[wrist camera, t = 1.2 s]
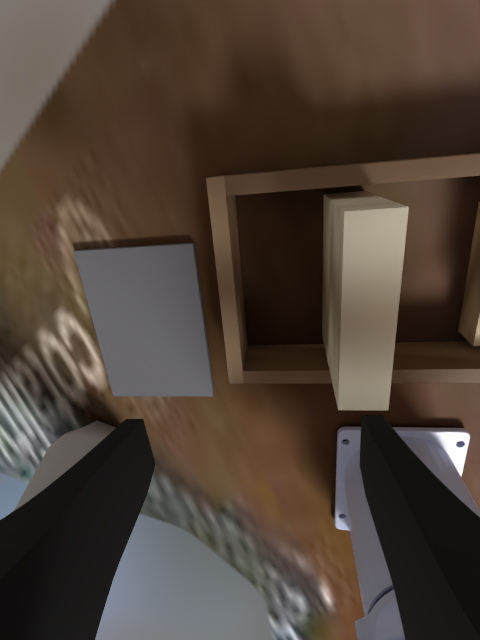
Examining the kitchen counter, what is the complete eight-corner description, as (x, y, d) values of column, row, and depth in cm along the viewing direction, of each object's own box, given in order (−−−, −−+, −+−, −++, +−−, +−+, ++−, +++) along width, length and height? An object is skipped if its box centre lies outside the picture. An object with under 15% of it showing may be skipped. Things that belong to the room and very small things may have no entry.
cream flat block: (356, 334, 21) (388, 410, 14) (322, 335, 21) (338, 410, 15) (364, 191, 18) (408, 207, 11) (323, 194, 18) (344, 211, 12)
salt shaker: (73, 400, 25) (-112, 607, 14) (149, 428, 26) (32, 655, 14) (62, 455, 28) (-102, 672, 16) (131, 480, 28) (19, 712, 16)
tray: (566, 351, 20) (611, 381, 17) (236, 356, 22) (229, 383, 20) (634, 138, 16) (709, 133, 13) (217, 175, 18) (205, 178, 15)
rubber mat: (214, 392, 24) (213, 396, 23) (115, 392, 25) (113, 396, 24) (194, 242, 20) (192, 243, 19) (77, 249, 21) (73, 251, 20)
